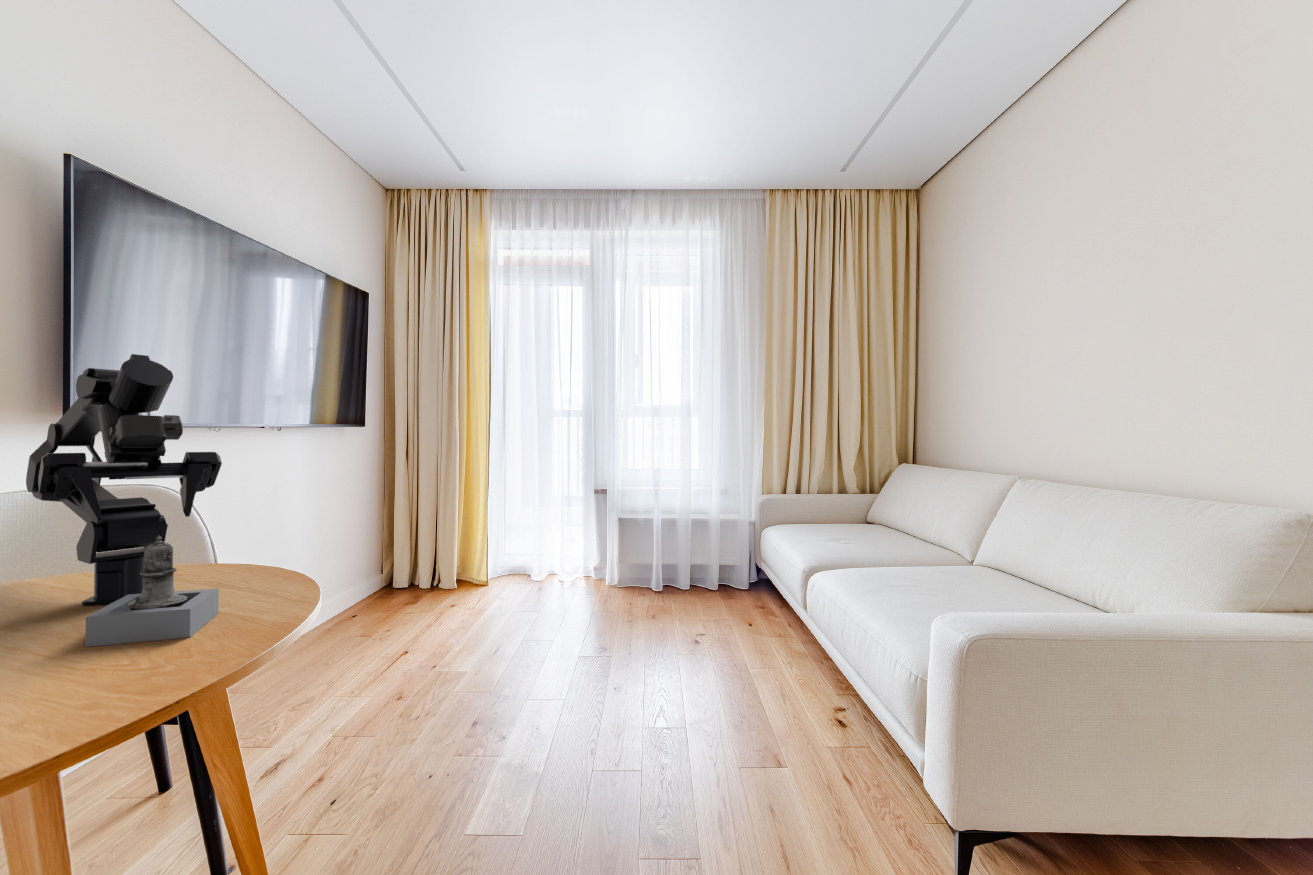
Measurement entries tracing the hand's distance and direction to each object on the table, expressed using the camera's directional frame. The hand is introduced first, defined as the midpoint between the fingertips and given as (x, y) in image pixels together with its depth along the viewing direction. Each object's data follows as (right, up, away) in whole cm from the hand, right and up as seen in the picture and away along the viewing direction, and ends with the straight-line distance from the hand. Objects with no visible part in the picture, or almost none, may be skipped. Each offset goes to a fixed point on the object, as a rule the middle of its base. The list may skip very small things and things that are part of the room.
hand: (145, 518), depth 78 cm
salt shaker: (+5, -14, -4) cm, 15 cm away
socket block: (+5, -14, -4) cm, 15 cm away
